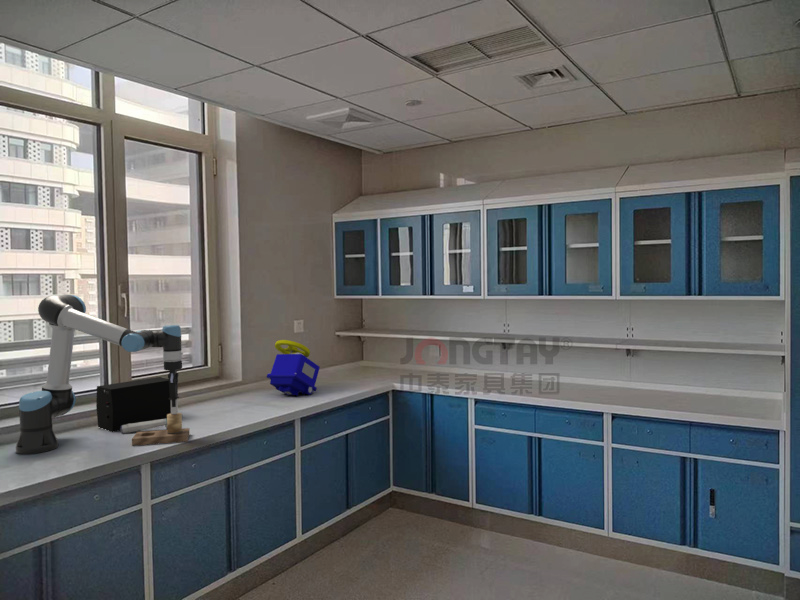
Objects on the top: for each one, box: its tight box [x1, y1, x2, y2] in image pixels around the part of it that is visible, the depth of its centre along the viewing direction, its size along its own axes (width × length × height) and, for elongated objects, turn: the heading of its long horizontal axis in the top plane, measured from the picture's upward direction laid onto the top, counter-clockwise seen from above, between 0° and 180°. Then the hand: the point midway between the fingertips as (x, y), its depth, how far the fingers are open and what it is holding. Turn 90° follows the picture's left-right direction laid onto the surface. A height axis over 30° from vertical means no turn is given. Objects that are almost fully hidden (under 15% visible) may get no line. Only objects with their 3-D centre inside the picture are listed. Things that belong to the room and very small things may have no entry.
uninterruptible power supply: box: [95, 376, 171, 433], centre depth 291 cm, size 16×34×20 cm, turn 142°
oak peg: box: [166, 412, 183, 434], centre depth 260 cm, size 6×6×11 cm
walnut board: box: [131, 427, 191, 447], centre depth 259 cm, size 22×12×3 cm, turn 104°
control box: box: [266, 339, 321, 397], centre depth 361 cm, size 26×27×30 cm
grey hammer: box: [120, 419, 167, 434], centre depth 276 cm, size 5×7×25 cm
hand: (174, 413), depth 260 cm, fingers closed
